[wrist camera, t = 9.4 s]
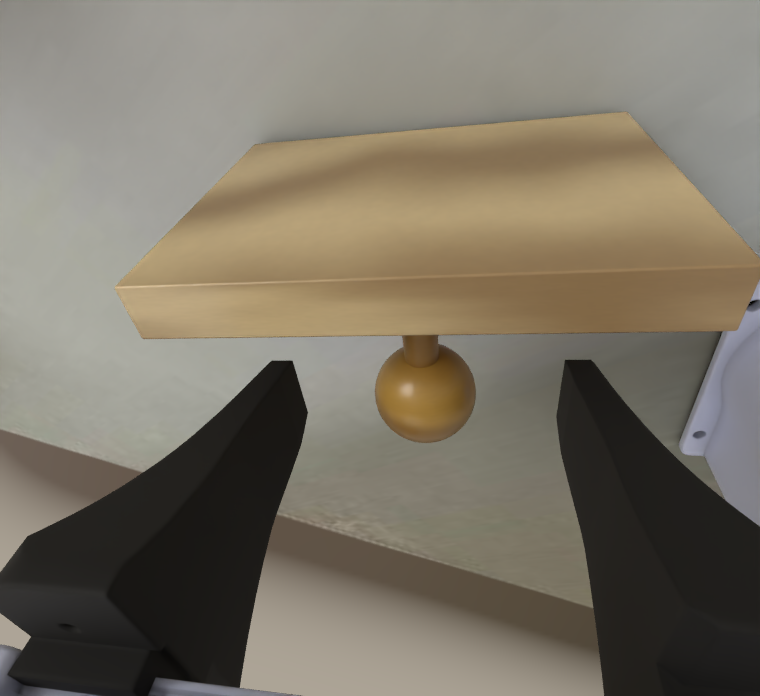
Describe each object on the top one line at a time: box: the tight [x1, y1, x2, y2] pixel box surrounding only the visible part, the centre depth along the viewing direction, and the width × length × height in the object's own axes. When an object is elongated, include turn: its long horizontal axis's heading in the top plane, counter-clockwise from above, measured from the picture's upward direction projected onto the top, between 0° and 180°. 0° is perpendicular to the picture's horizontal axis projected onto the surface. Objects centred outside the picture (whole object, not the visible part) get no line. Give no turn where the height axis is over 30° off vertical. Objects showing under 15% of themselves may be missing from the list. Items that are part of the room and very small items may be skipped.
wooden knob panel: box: [115, 112, 760, 443], centre depth 14 cm, size 9×12×6 cm
